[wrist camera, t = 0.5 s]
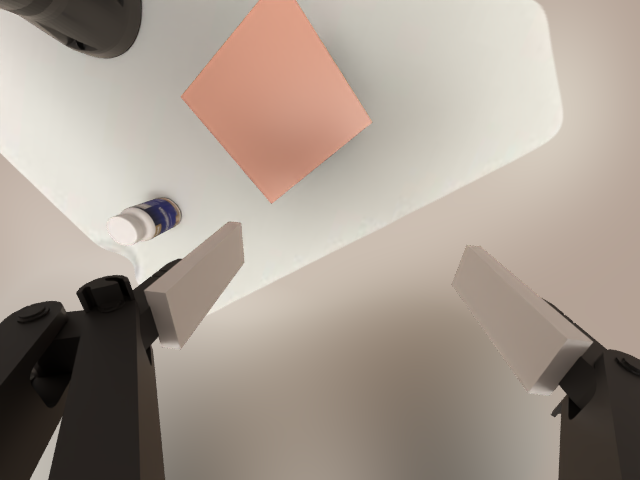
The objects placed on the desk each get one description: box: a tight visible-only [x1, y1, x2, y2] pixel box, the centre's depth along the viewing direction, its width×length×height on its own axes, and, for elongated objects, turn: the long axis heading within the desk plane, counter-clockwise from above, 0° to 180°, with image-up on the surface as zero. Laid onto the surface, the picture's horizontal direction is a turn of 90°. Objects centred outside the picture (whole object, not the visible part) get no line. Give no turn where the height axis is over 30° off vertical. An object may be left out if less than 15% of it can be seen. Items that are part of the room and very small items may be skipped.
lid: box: [181, 0, 372, 204], centre depth 22 cm, size 13×13×2 cm
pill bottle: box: [107, 198, 181, 246], centre depth 39 cm, size 6×6×10 cm
